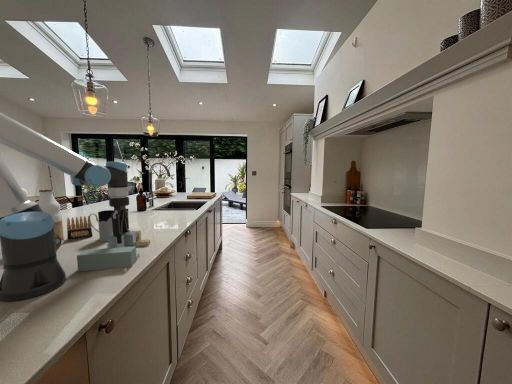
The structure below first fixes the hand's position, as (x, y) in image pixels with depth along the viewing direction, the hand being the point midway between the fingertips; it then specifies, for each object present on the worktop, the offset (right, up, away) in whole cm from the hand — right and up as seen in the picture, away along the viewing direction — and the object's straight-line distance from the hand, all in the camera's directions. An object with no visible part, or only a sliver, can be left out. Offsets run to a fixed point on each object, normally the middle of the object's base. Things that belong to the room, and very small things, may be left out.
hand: (122, 248), depth 99 cm
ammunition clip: (-37, 0, +22) cm, 43 cm away
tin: (-34, -3, -2) cm, 35 cm away
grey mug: (-23, 0, +21) cm, 31 cm away
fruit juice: (-41, -1, +10) cm, 42 cm away
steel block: (0, 0, 0) cm, 0 cm away
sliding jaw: (-2, -1, +10) cm, 11 cm away
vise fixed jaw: (+2, -3, -12) cm, 12 cm away
